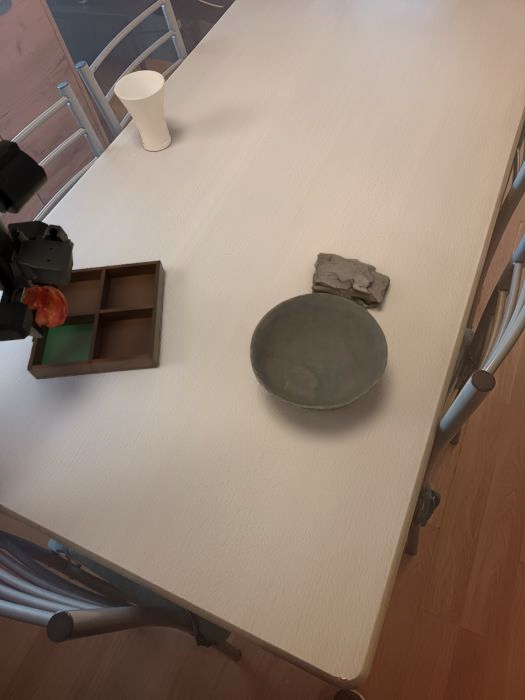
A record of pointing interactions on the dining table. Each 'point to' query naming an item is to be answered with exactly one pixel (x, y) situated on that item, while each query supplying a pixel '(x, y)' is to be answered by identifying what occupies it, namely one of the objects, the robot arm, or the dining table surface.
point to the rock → (349, 279)
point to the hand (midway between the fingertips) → (45, 315)
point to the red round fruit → (46, 305)
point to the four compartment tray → (104, 323)
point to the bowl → (318, 351)
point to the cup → (146, 106)
